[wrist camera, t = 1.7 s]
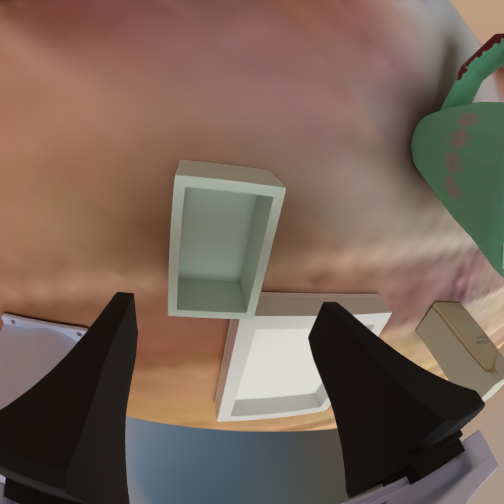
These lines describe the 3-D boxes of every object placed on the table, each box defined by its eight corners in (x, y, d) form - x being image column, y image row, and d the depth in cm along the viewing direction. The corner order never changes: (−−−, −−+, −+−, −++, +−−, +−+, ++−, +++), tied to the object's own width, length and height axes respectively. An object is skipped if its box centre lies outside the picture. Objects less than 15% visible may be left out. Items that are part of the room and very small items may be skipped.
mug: (452, 214, 19) (534, 279, 11) (367, 197, 17) (475, 287, 9) (483, 61, 12) (579, 83, 4) (401, 1, 10) (524, -15, 2)
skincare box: (459, 301, 27) (516, 370, 16) (441, 329, 29) (491, 397, 18) (432, 301, 25) (497, 383, 15) (412, 332, 27) (467, 413, 17)
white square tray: (214, 401, 26) (217, 421, 24) (235, 290, 19) (240, 315, 17) (319, 393, 29) (325, 410, 27) (377, 293, 22) (392, 312, 20)
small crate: (171, 279, 18) (167, 315, 15) (180, 158, 14) (175, 174, 11) (244, 284, 19) (253, 319, 16) (268, 169, 16) (286, 188, 13)
